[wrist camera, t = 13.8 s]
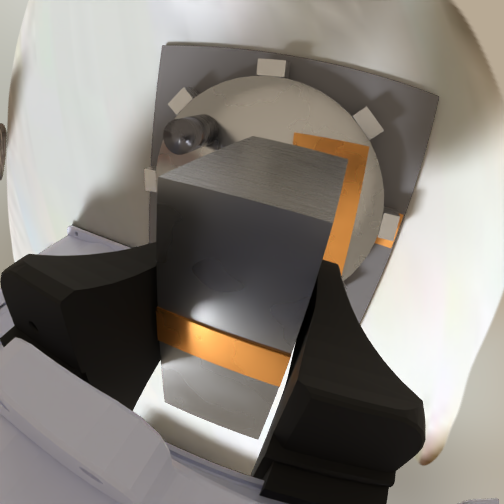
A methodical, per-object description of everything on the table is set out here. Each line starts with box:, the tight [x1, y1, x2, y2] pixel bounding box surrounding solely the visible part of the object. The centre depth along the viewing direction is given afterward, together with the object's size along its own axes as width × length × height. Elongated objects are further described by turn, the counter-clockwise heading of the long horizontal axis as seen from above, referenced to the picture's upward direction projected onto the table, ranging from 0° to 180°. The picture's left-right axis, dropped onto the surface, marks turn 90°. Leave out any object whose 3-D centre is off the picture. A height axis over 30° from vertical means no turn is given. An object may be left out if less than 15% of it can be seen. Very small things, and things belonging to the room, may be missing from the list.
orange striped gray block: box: [156, 136, 348, 439], centre depth 10 cm, size 4×8×6 cm, turn 171°
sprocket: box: [144, 58, 400, 293], centre depth 19 cm, size 17×17×4 cm
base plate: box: [149, 45, 439, 324], centre depth 21 cm, size 18×18×1 cm
